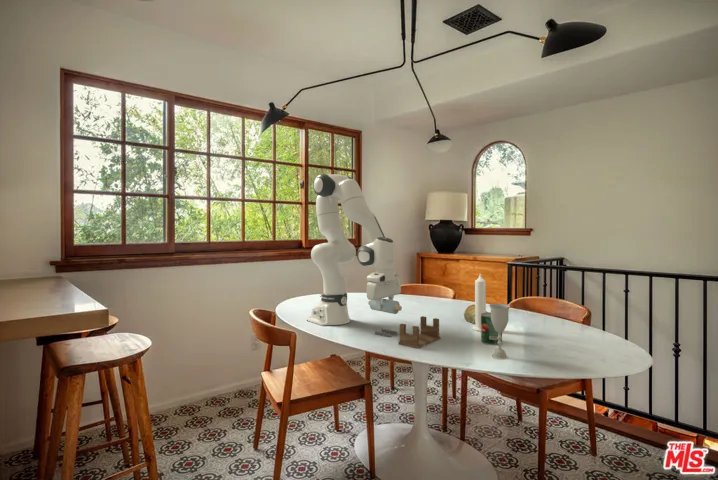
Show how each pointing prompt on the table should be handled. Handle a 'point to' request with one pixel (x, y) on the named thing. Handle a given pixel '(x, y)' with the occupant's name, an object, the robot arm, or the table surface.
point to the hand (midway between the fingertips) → (384, 307)
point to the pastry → (470, 314)
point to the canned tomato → (488, 330)
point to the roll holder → (424, 337)
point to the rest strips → (386, 332)
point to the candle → (479, 301)
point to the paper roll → (386, 306)
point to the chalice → (499, 325)
